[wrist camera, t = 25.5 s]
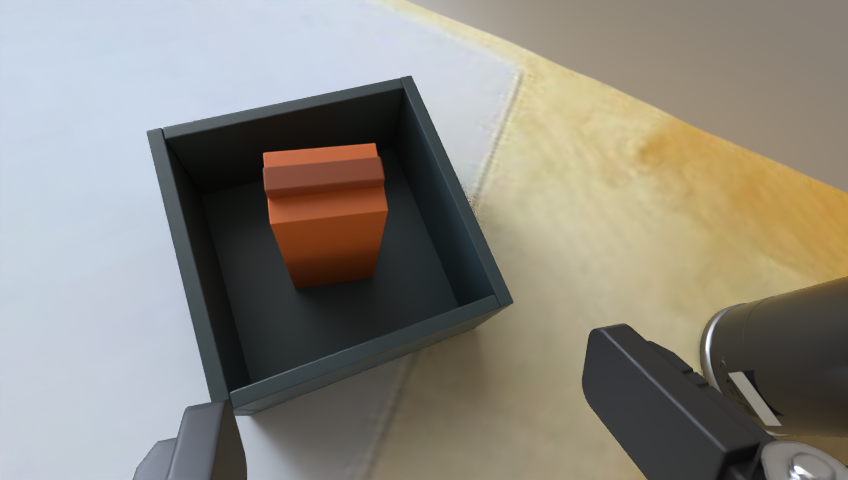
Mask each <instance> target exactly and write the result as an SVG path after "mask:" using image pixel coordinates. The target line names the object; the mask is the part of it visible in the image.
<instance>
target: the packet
mask: <svg viewBox="0 0 848 480" xmlns="http://www.w3.org/2000/svg"><path fill="white" fill-rule="evenodd" d="M263 158H264V168H263V177H264V187H265V192H266V195H267V198H268V208H269V218H270V225H271V228H272V230H273V233H274V235H275V238H276V241H277V243H278V246H279V248H280V251H281V254H282V256H283V259H284V262H285V264H286V267H287V269H288V272H289V275H290V277H291V280H292V282H293V285H294V288H295V289H301V288H307V287H314V286H321V285H327V284H334V283H341V282H347V281H354V280H361V279H367V278H373V276H374V271H375V267H376V262H377V258H378V253H379V249H380V244H381V240H382V235H383V231H384V226H385V222H386V217H387V213H388V207H387V201H386V196H385V191H384V186H383V185H384V180H385V176H384V171H383V166H382V161H381V158H380V157H378V154H377V149H376V144H375V143H372V144H360V145H348V146H337V147H325V148H313V149H301V150H290V151H278V152H266V153H263Z"/></svg>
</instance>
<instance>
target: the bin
mask: <svg viewBox="0 0 848 480" xmlns="http://www.w3.org/2000/svg"><path fill="white" fill-rule="evenodd" d="M147 136H148V140H149V144H150V148H151V153H152V157H153V161H154V165H155V169H156V173H157V178H158V182H159V186H160V190H161V194H162V198H163V202H164V207H165V211H166V215H167V219H168V223H169V227H170V232H171V236H172V240H173V244H174V248H175V252H176V257H177V261H178V265H179V269H180V273H181V277H182V281H183V286H184V290H185V294H186V298H187V302H188V306H189V311H190V315H191V319H192V323H193V327H194V331H195V335H196V340H197V344H198V348H199V352H200V356H201V360H202V365H203V369H204V373H205V377H206V381H207V385H208V390H209V394H210V398H211V402H215V401H220V400H225V399H229V400H230V402H231V404H232V408H233V411H234V415H235V416H249V415H252V414H254V413H257V412H259V411H262V410H265V409H267V408H270V407H272V406H275V405H277V404H280V403H283V402H285V401H288V400H290V399H293V398H295V397H298V396H301V395H303V394H306V393H308V392H311V391H313V390H316V389H319V388H321V387H324V386H326V385H329V384H332V383H334V382H337V381H339V380H342V379H344V378H347V377H350V376H352V375H355V374H357V373H360V372H362V371H365V370H368V369H370V368H373V367H375V366H378V365H381V364H383V363H386V362H388V361H391V360H393V359H396V358H399V357H401V356H404V355H406V354H409V353H411V352H414V351H417V350H419V349H422V348H424V347H427V346H430V345H432V344H435V343H437V342H440V341H442V340H445V339H448V338H450V337H453V336H455V335H458V334H460V333H463V332H466V331H468V330H471V329H473V328H476V327H477V326H479V325H480V324H482V323H483V322H485V321H486V320H488V319H489V318H491V317H492V316H494V315H496V314H497V313H499V312H500V311H502V310H503V309H505V308H506V307H508V306H509V305H511V304H512V303H513V300H512V298H511V296H510V293H509V291H508V289H507V287H506V284H505V282H504V280H503V278H502V276H501V273H500V271H499V269H498V267H497V264H496V262H495V260H494V258H493V256H492V253H491V251H490V249H489V247H488V245H487V242H486V240H485V238H484V236H483V233H482V231H481V229H480V227H479V225H478V222H477V220H476V218H475V216H474V213H473V211H472V209H471V207H470V205H469V202H468V200H467V198H466V196H465V194H464V191H463V189H462V187H461V185H460V182H459V180H458V178H457V176H456V174H455V171H454V169H453V167H452V165H451V162H450V160H449V158H448V156H447V154H446V151H445V149H444V147H443V145H442V143H441V140H440V138H439V136H438V134H437V131H436V129H435V127H434V125H433V123H432V120H431V118H430V116H429V114H428V111H427V109H426V107H425V105H424V103H423V100H422V98H421V96H420V94H419V92H418V89H417V87H416V85H415V83H414V80H413V78H412V76H406V77H402V78H400V79H399V78H398V79H393V80H389V81H384V82H379V83H374V84H369V85H365V86H360V87H355V88H350V89H346V90H341V91H336V92H331V93H326V94H322V95H317V96H312V97H307V98H303V99H298V100H293V101H288V102H283V103H279V104H274V105H269V106H264V107H260V108H255V109H250V110H245V111H240V112H236V113H231V114H226V115H221V116H217V117H212V118H207V119H202V120H197V121H193V122H188V123H183V124H178V125H174V126H169V127H164V128H163V129H162V128H159V129H154V130H149V131H147ZM372 143H375V144H376V149H377V154H378V157H380V158H381V161H382V166H383V171H384V176H385V180H384V185H383V186H384V191H385V196H386V201H387V207H388V213H387V217H386V222H385V226H384V231H383V235H382V240H381V244H380V249H379V253H378V258H377V262H376V267H375V271H374V276H373V278H367V279H361V280H354V281H347V282H341V283H334V284H327V285H321V286H314V287H307V288H301V289H295V288H294V285H293V282H292V280H291V277H290V275H289V272H288V269H287V267H286V264H285V262H284V259H283V256H282V254H281V251H280V248H279V246H278V243H277V241H276V238H275V235H274V233H273V230H272V228H271V225H270V218H269V208H268V198H267V195H266V192H265V187H264V177H263V168H264V158H263V153H266V152H278V151H290V150H301V149H313V148H325V147H337V146H348V145H360V144H372Z"/></svg>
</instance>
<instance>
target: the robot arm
mask: <svg viewBox="0 0 848 480" xmlns="http://www.w3.org/2000/svg"><path fill="white" fill-rule="evenodd" d="M700 358H701V365H702V369H703V373H704V376H705V379H706V380H705V379H704V378H703V377H702V376H701V375H699V374H698V373H697V372H695V373H694V372H693V369H692V368H691V367H690V366H689V365H688V364H687V363H685V362H684V361H683V360H682V359H681V358H679V357H678V356H677V355H676V354H675V353H673V352H671V351H669V350H667V349H666V348H664V347H662V346H660V345H658V344H656V343H654V342H652V341H646V340H645V339H644V338H643V337H642V336H640V335H639V334H638V333H637V332H636V331H635V330H634V329H633V328H631V327H630V326H629V325H627V324H617V325H612V326H607V327H601V328H596V329H593V330H592V331H591V332H590V334H589V338H588V344H587V351H586V357H585V363H584V369H583V376H582V388H583V392H584V395H585V398H586V400H587V402H588V404H589V405H590V407H591V408H592V409H593V411H594V412H595V413H596V415H597V416H598V417H599V418H600V420H601V421H602V422H603V423H604V425H605V426H606V427H607V429H608V430H609V431H610V432H611V434H612V435H613V436H614V437H615V439H616V440H617V441H618V443H619V444H620V445H621V446H622V448H623V449H624V450H625V451H626V453H627V454H628V455H629V457H630V458H631V459H632V460H633V462H634V463H635V464H636V465H637V467H638V468H639V469H640V471H641V472H642V473H643V474H644V476H645V477H646V478H647V479H648V480H848V466H844V465H843V464H842V463H840V462H839V461H838V460H836V459H835V458H833V457H832V456H830V455H828V454H827V453H825V452H823V451H821V450H819V449H817V448H815V447H812V446H809V445H807V444H803V443H800V442H796V441H790V440H776V439H775V438H773V437H772V436H792V435H805V436H822V437H840V438H848V276H847V277H843V278H839V279H836V280H832V281H828V282H825V283H821V284H817V285H814V286H810V287H806V288H803V289H799V290H795V291H792V292H788V293H784V294H781V295H777V296H772V297H769V298H765V299H761V300H758V301H754V302H750V303H744V304H738V305H734V306H731V307H727V308H725V309H723V310H721V311H719V312H718V313H716V314H715V315H714V316H713V317H712V318H711V319H710V320H709V322H708V323H707V325H706V327H705V329H704V331H703V334H702V338H701V345H700ZM771 435H772V436H771ZM133 480H247V464H246V457H245V452H244V448H243V444H242V441H241V437H240V433H239V430H238V426H237V422H236V419H235V415H234V411H233V408H232V404H231V402H230V400H229V399H225V400H220V401H215V402H210V403H205V404H200V405H194V406H189V407H187V408H186V409H185V411H184V414H183V418H182V421H181V425H180V429H179V432H178V436H177V438H172V439H167V440H163V441H158V442H157V443H156V444H155V445H154V447H153V448H152V449H151V450H150V452H149V453H148V454H147V456H146V457H145V458H144V459H143V461H142V462H141V463H140V464H139V466H138V467H137V469H136V471H135V474H134V477H133Z"/></svg>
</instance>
